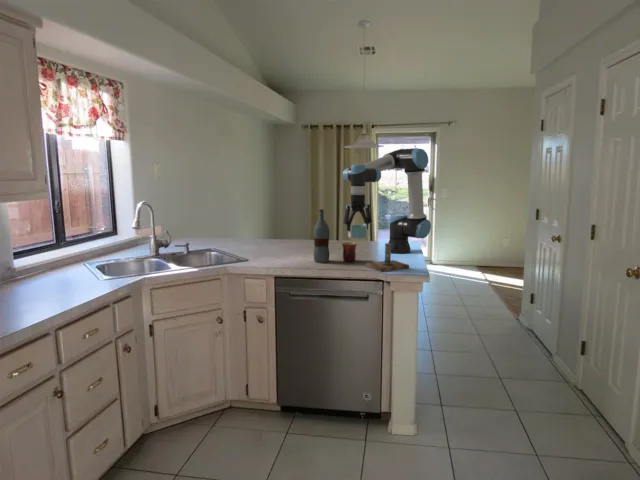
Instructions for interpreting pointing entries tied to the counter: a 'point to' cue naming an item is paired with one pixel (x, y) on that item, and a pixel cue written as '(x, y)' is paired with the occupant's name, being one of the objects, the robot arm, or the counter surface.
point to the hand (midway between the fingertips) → (357, 236)
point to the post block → (387, 262)
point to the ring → (358, 231)
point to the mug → (349, 251)
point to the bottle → (321, 240)
